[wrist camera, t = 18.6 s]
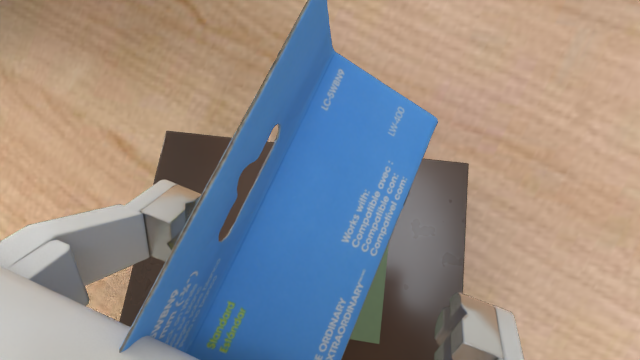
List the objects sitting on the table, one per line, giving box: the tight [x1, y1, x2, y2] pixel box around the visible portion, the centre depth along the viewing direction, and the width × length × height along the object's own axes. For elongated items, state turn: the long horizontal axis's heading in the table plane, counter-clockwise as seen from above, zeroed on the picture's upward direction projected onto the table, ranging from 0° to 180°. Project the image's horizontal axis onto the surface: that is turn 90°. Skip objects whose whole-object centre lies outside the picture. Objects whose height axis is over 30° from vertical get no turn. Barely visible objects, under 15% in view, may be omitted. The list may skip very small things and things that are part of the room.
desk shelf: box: [119, 131, 469, 360], centre depth 18 cm, size 18×13×5 cm
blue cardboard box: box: [119, 0, 438, 360], centre depth 11 cm, size 9×4×12 cm, turn 156°
